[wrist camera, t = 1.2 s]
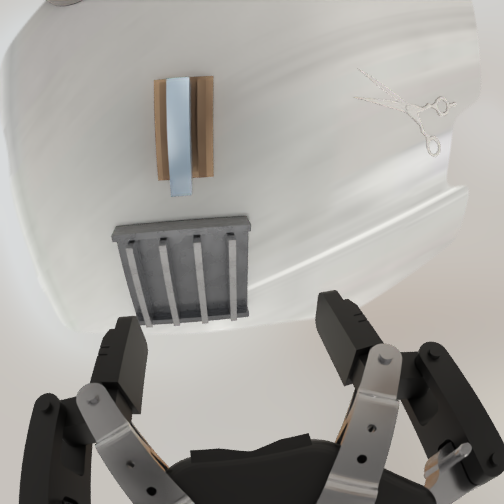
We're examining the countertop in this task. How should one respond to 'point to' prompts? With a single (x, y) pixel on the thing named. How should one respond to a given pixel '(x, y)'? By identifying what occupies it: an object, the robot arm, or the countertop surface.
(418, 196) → the countertop surface
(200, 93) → the plate stand
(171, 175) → the plate
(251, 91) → the countertop surface
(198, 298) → the dish rack
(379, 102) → the scissors
